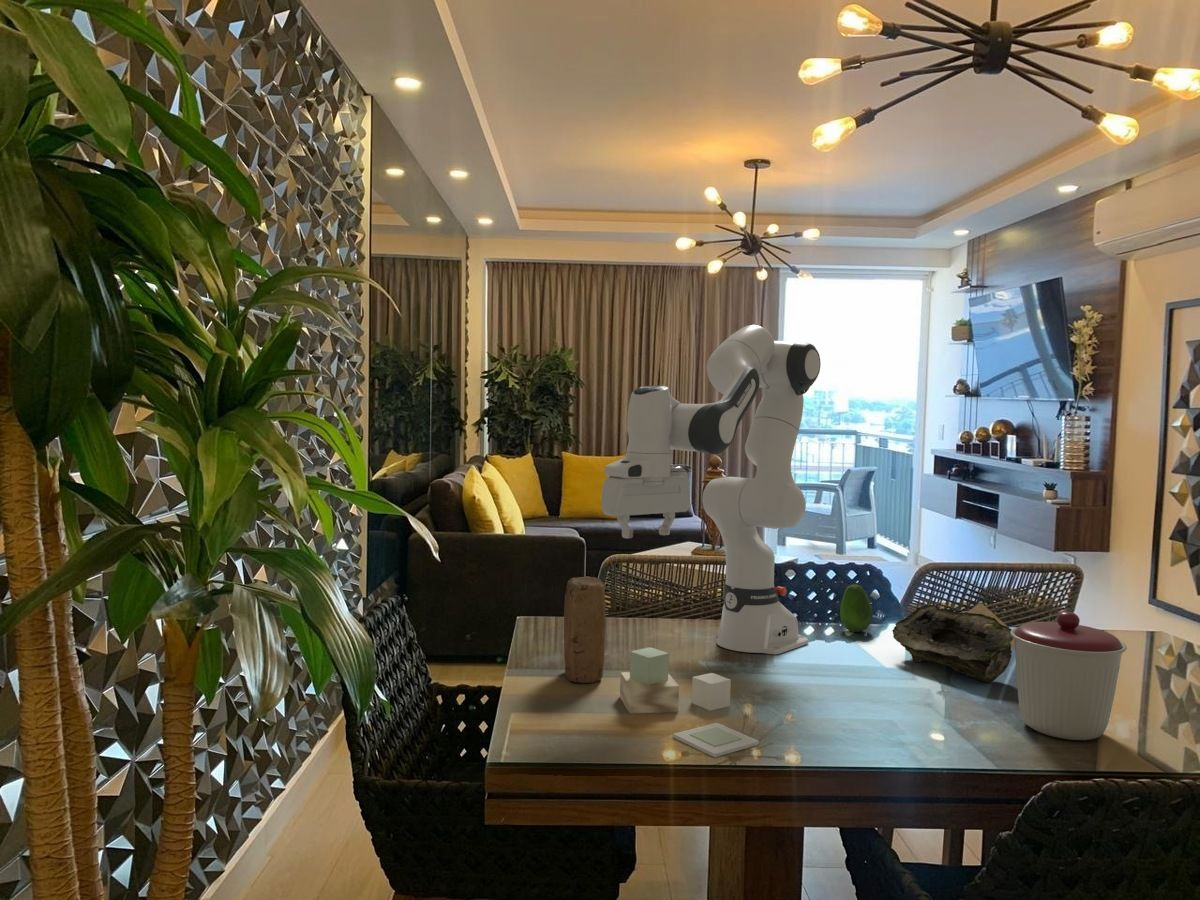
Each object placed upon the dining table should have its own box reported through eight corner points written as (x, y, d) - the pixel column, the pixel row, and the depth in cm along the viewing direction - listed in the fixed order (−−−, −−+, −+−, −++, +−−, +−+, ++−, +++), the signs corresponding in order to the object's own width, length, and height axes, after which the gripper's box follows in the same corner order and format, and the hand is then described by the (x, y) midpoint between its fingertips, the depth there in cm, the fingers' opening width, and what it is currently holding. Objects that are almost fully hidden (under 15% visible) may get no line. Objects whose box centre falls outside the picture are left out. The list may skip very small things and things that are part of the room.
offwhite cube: (711, 698, 169) (712, 672, 169) (729, 706, 165) (730, 679, 165) (691, 703, 166) (692, 676, 166) (709, 711, 162) (710, 684, 162)
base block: (666, 697, 170) (666, 671, 170) (678, 713, 161) (679, 686, 161) (619, 698, 169) (620, 672, 168) (629, 714, 160) (630, 687, 160)
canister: (986, 712, 166) (992, 600, 164) (1080, 712, 167) (1086, 601, 166) (1041, 750, 148) (1048, 624, 146) (1145, 750, 149) (1153, 625, 148)
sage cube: (649, 673, 168) (650, 647, 168) (667, 680, 164) (668, 653, 164) (629, 678, 165) (630, 651, 165) (648, 685, 161) (648, 657, 161)
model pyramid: (928, 641, 218) (930, 600, 218) (961, 630, 230) (963, 592, 229) (996, 656, 206) (998, 613, 205) (1027, 644, 218) (1029, 604, 217)
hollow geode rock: (1009, 713, 179) (1050, 656, 183) (978, 675, 175) (1020, 617, 178) (909, 670, 205) (947, 620, 208) (880, 635, 201) (919, 585, 204)
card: (716, 726, 155) (716, 721, 154) (759, 744, 146) (759, 739, 146) (672, 737, 149) (673, 732, 149) (714, 757, 141) (714, 752, 141)
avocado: (833, 628, 227) (835, 581, 226) (862, 627, 228) (864, 581, 228) (847, 636, 219) (849, 588, 218) (877, 635, 220) (879, 587, 220)
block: (605, 684, 176) (608, 584, 175) (567, 685, 174) (570, 584, 173) (595, 668, 186) (598, 573, 185) (560, 669, 185) (562, 574, 184)
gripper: (677, 465, 186) (675, 531, 186) (597, 466, 174) (595, 537, 174) (697, 467, 181) (695, 535, 181) (617, 469, 169) (615, 541, 169)
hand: (646, 536), depth 178 cm, fingers open, 8 cm apart
